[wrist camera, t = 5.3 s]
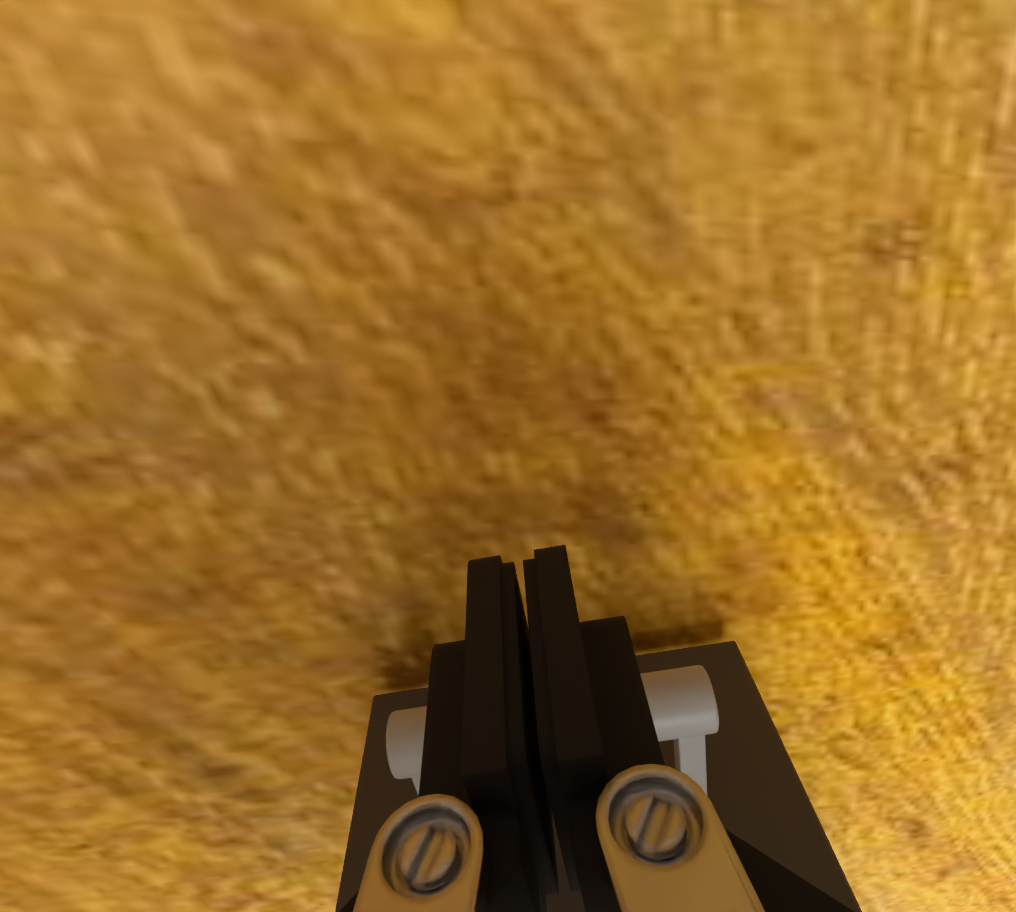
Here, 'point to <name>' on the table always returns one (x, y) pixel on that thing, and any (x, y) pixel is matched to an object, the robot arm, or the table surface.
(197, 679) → the table surface
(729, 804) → the drawer
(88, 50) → the table surface
